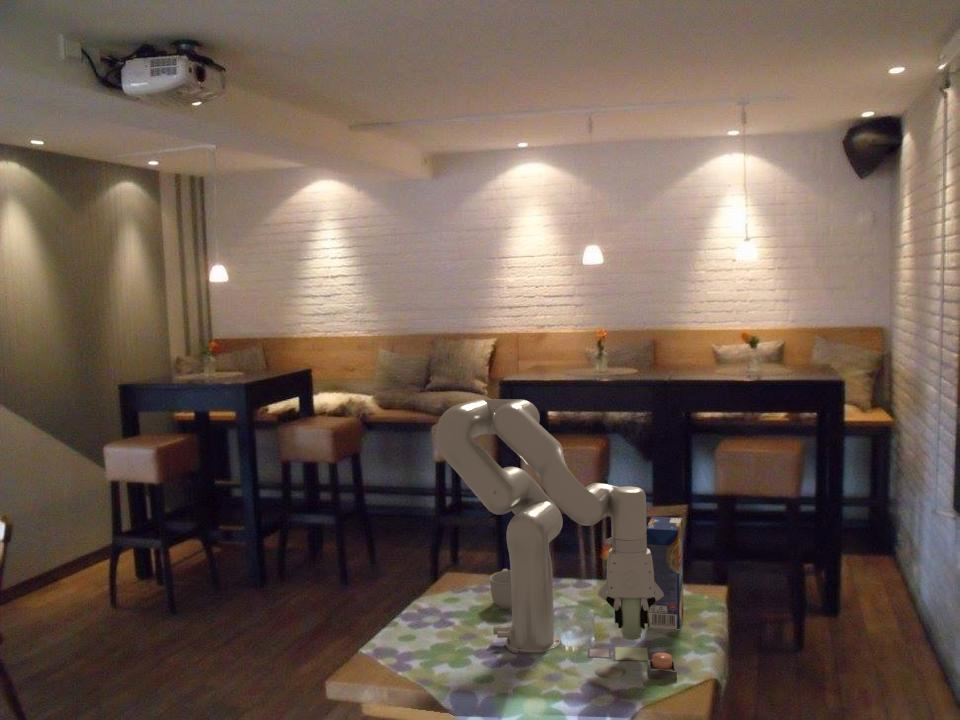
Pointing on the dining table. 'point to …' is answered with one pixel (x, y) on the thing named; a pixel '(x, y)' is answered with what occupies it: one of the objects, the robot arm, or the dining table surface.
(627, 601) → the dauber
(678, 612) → the juice carton
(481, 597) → the dining table surface
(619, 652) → the colouring board
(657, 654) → the button
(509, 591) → the teacup
